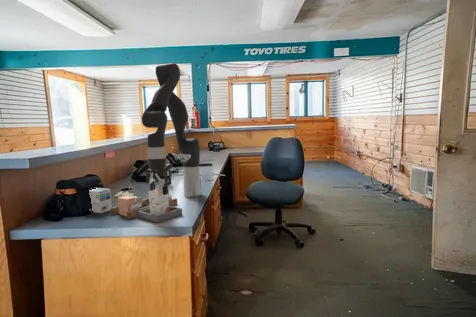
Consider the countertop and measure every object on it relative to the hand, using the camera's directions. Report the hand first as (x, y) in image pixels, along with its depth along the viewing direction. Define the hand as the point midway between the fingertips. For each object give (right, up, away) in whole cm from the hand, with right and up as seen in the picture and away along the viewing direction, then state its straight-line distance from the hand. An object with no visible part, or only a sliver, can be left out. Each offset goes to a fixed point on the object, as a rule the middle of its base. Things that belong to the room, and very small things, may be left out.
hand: (159, 193), depth 126 cm
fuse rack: (-10, -9, +14) cm, 20 cm away
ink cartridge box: (0, -10, +1) cm, 10 cm away
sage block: (-4, -8, +22) cm, 24 cm away
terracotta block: (-16, -11, +6) cm, 20 cm away
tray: (0, -11, +1) cm, 11 cm away
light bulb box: (-33, -10, +13) cm, 37 cm away
